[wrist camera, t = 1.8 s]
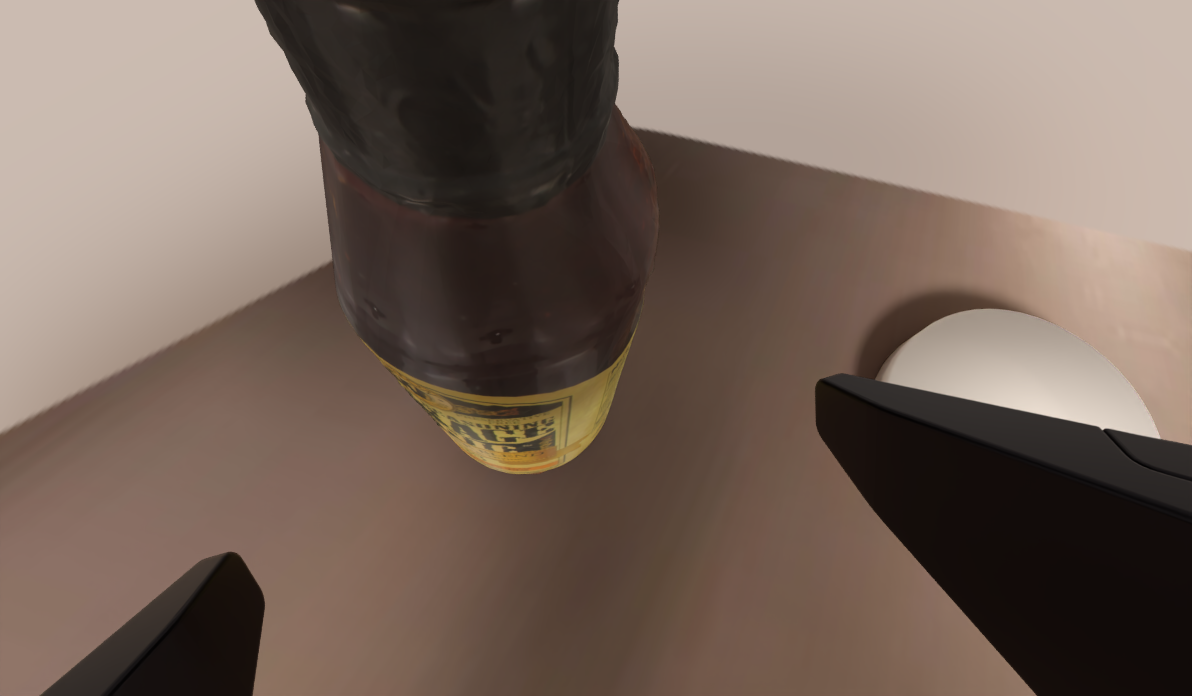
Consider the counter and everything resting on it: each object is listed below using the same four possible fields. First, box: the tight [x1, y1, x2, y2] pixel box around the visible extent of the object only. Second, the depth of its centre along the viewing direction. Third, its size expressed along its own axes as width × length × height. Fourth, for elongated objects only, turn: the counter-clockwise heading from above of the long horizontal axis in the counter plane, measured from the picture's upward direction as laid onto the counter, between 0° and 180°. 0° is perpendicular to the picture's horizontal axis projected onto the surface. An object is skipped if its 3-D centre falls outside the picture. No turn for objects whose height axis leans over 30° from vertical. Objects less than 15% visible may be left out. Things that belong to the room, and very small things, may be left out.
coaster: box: [875, 309, 1161, 439], centre depth 21 cm, size 10×10×2 cm
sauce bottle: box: [255, 0, 660, 474], centre depth 13 cm, size 7×6×20 cm
